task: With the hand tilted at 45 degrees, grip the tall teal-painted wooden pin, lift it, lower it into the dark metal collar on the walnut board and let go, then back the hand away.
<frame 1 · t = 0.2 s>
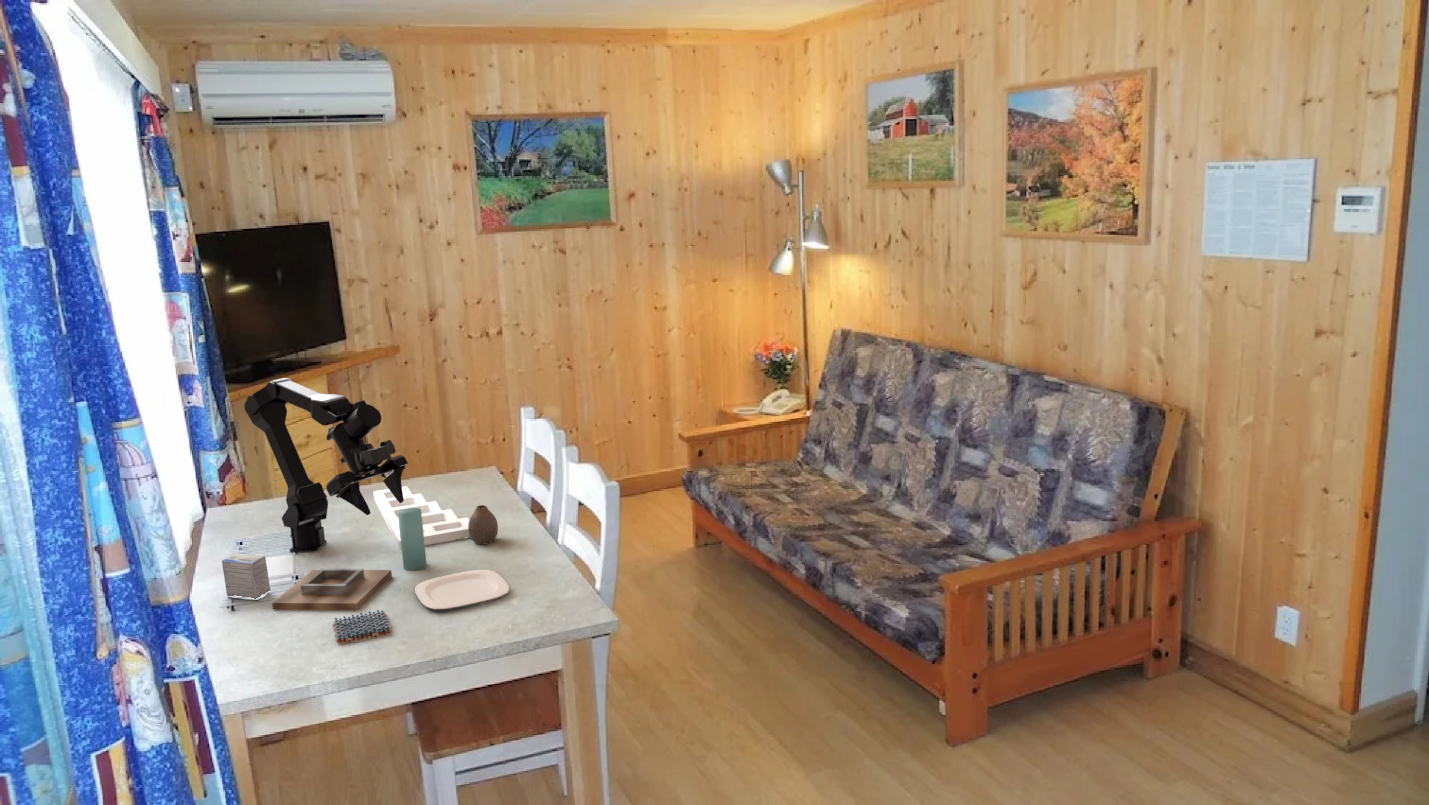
hand: (385, 508, 233), 14 cm above the table, tool tilted 35°, fingers open, 9 cm apart
plate: (462, 596, 221), on the table
medicine box: (249, 597, 224), on the table
vase: (484, 542, 252), on the table
pin: (415, 566, 237), on the table
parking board: (334, 592, 224), on the table
holder: (422, 519, 272), on the table
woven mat: (362, 633, 205), on the table
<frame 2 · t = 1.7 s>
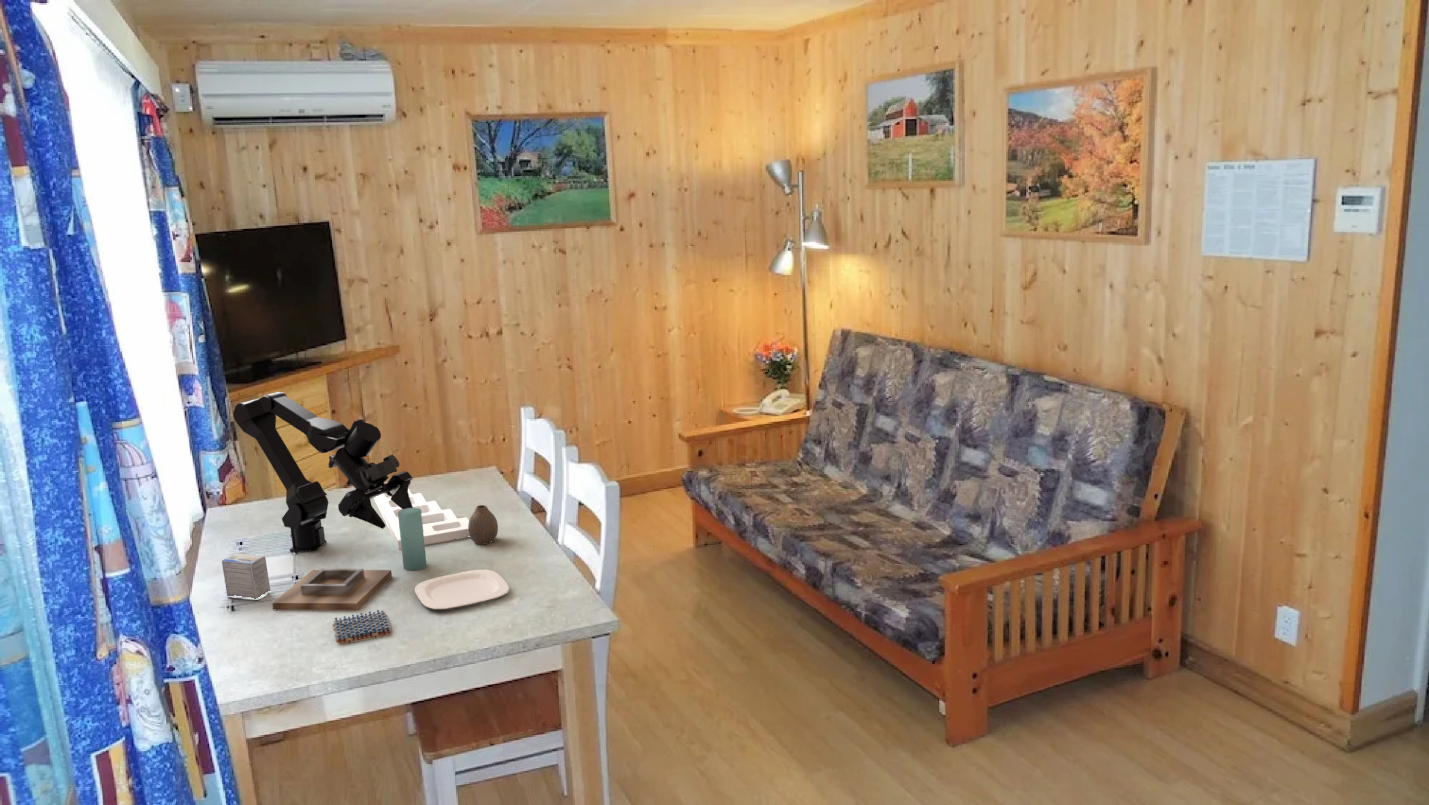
hand: (399, 520, 237), 10 cm above the table, tool tilted 45°, fingers open, 9 cm apart
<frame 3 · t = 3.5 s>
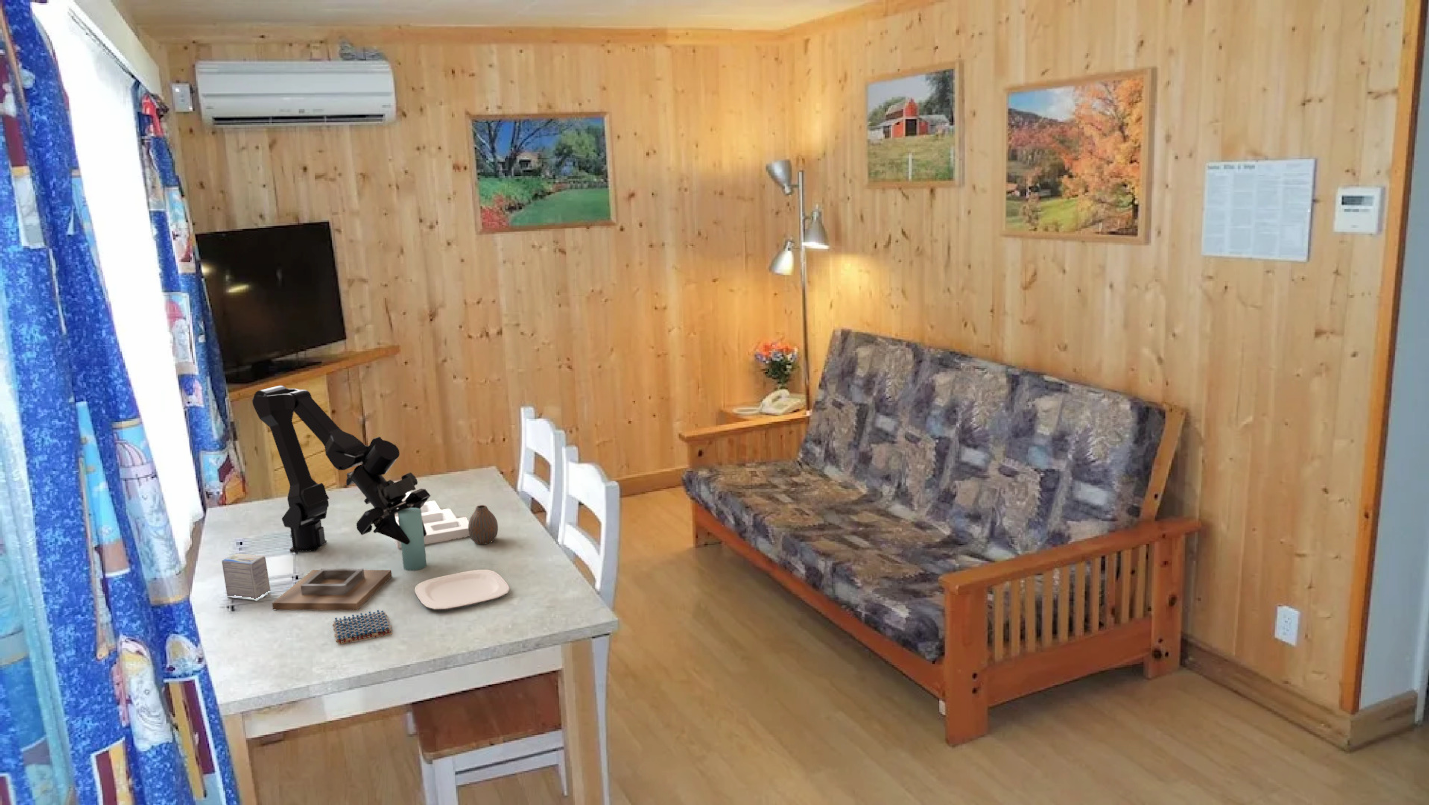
hand: (417, 539, 235), 7 cm above the table, tool tilted 45°, fingers closed on pin, 5 cm apart
pin: (415, 566, 237), on the table, touching gripper
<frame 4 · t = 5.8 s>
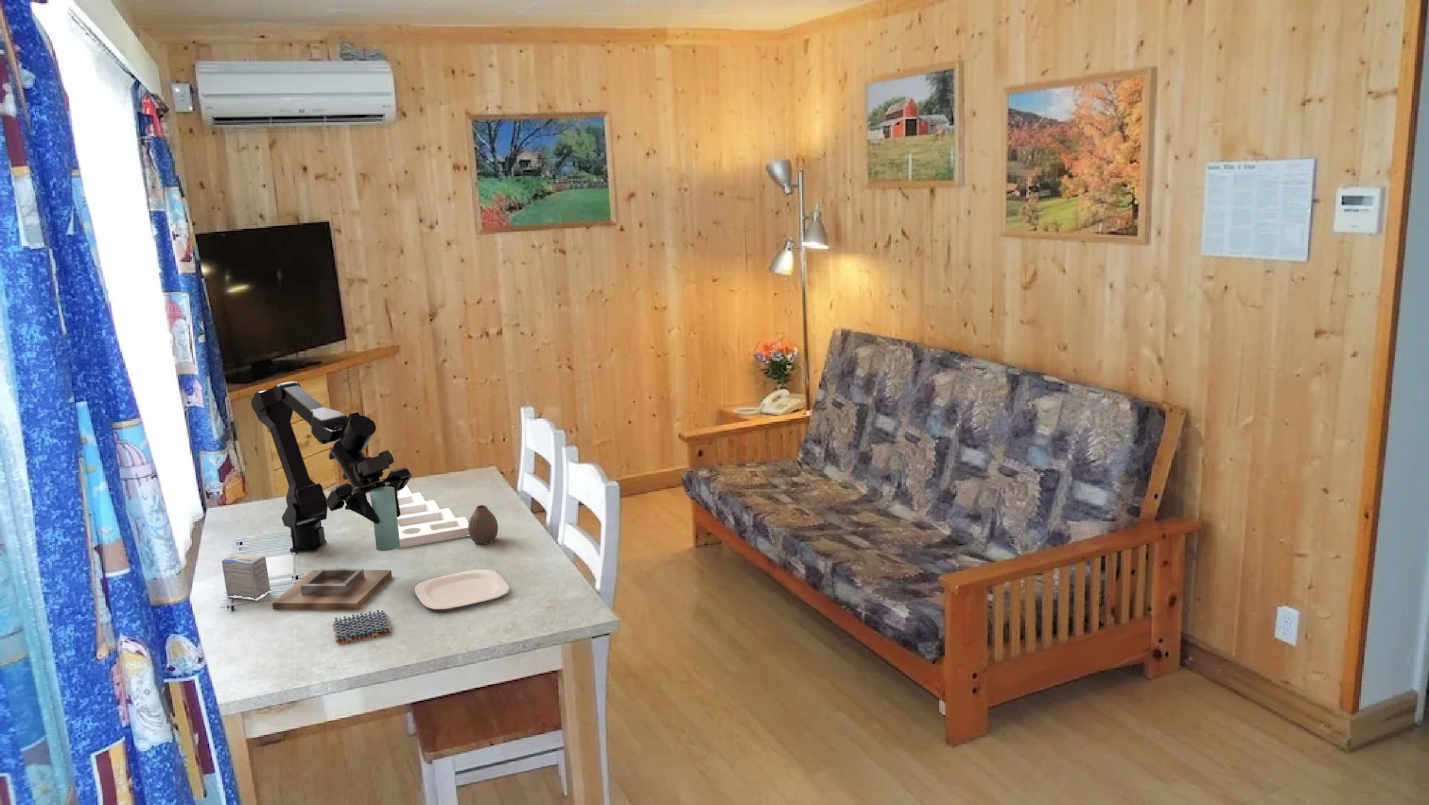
hand: (388, 519, 228), 13 cm above the table, tool tilted 45°, fingers closed on pin, 5 cm apart
pin: (388, 546, 230), point 7 cm above the table, touching gripper
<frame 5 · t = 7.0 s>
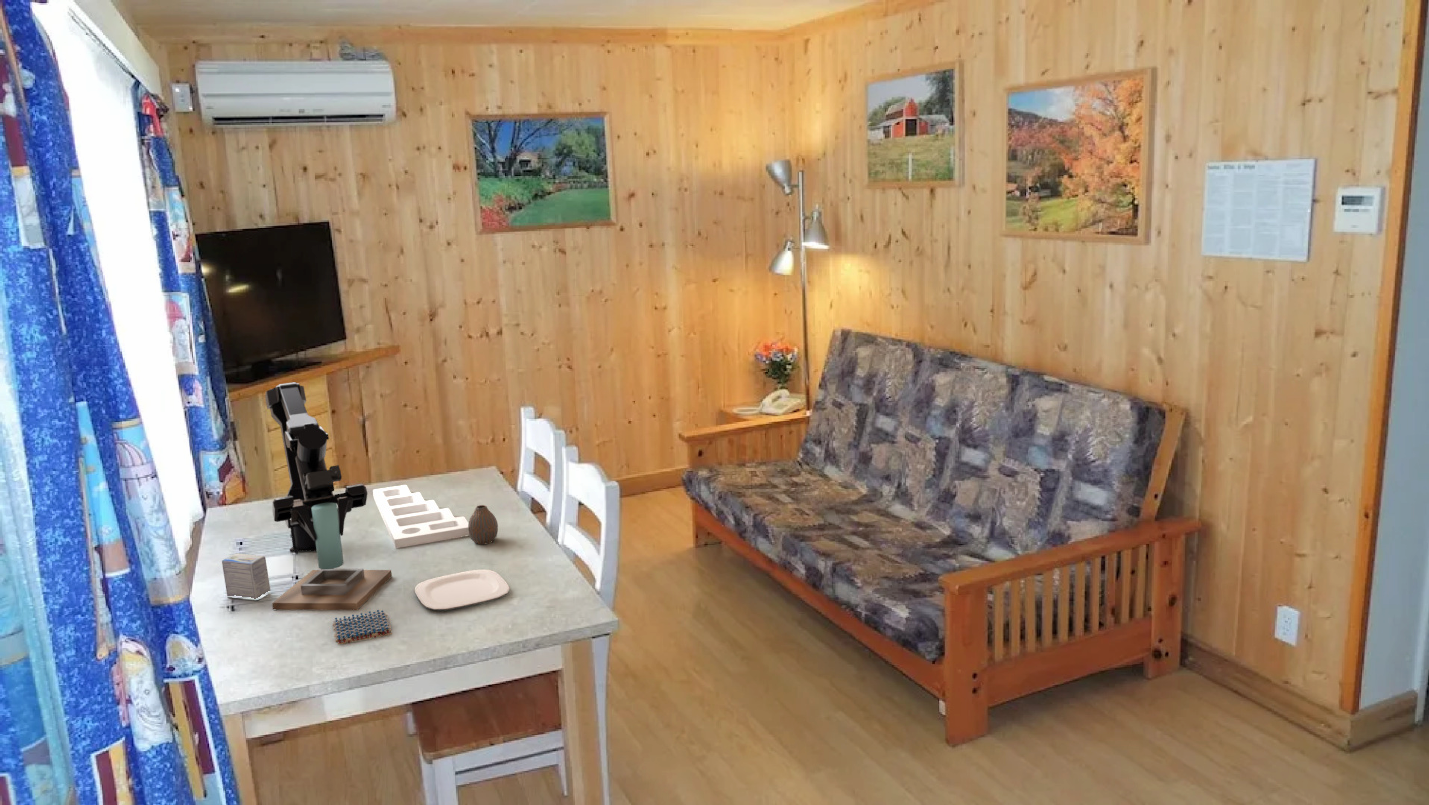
hand: (328, 537, 220), 13 cm above the table, tool tilted 45°, fingers closed on pin, 5 cm apart
pin: (331, 564, 223), point 6 cm above the table, touching gripper
when the fingers open (9 cm above the table, at t = 8.1 s): pin stays where it is, resting on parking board.
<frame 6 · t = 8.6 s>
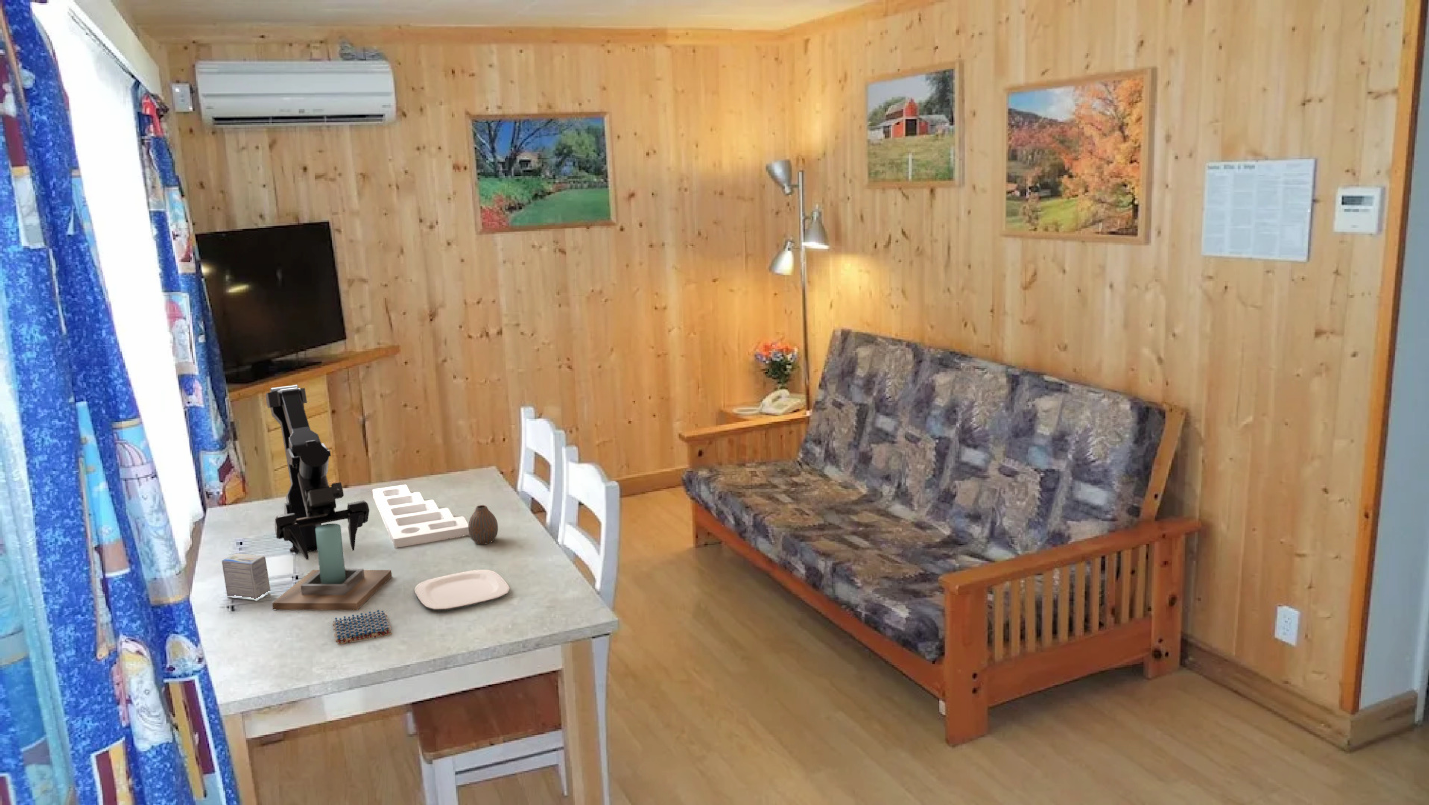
hand: (330, 554, 221), 9 cm above the table, tool tilted 45°, fingers open, 9 cm apart
pin: (333, 585, 224), point 2 cm above the table, touching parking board
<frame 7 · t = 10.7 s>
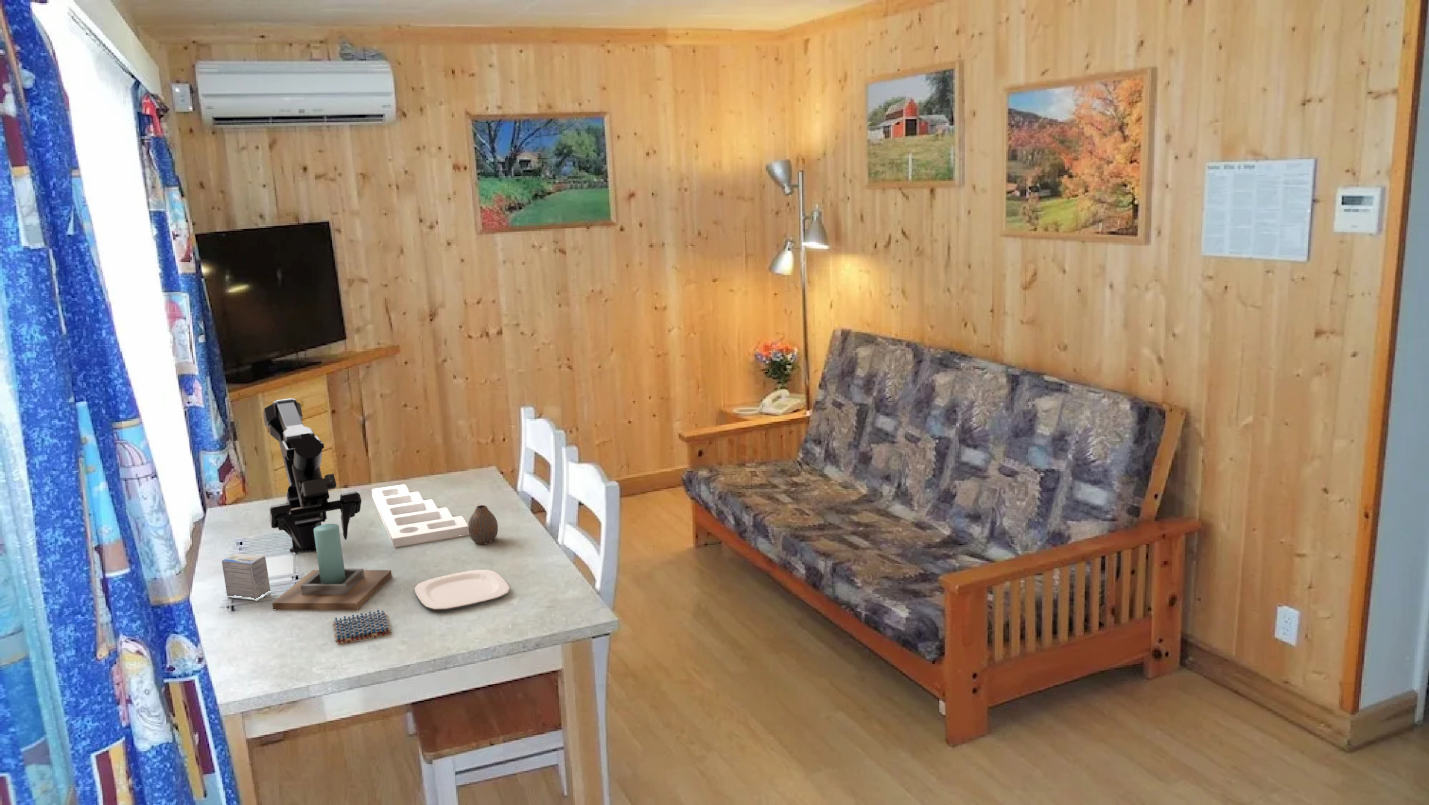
hand: (323, 543, 228), 9 cm above the table, tool tilted 45°, fingers open, 9 cm apart
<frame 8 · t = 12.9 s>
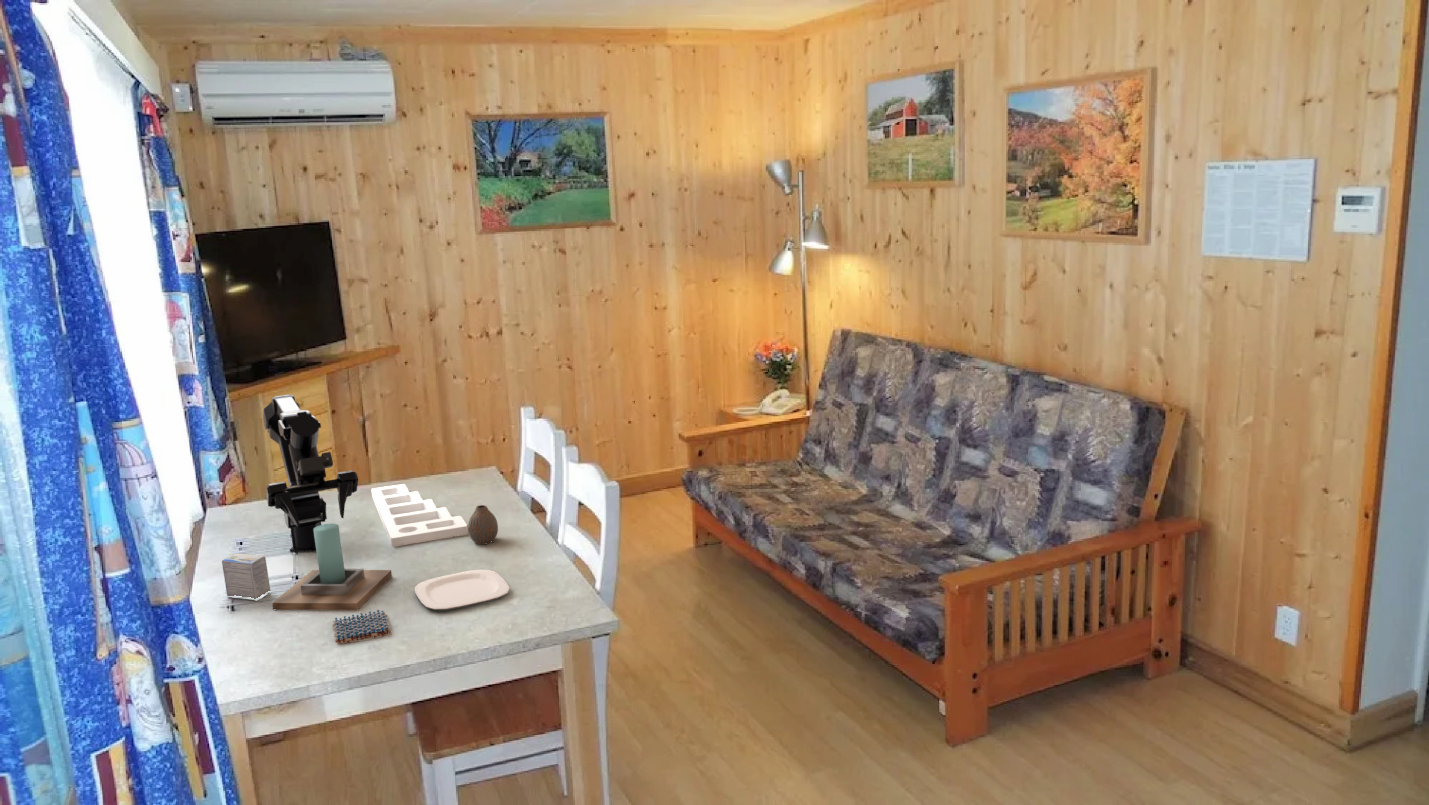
hand: (320, 521, 228), 14 cm above the table, tool tilted 45°, fingers open, 9 cm apart
at the end: pin 0.1 cm off-centre on the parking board, point 1.5 cm above the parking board's base; pin tilted 1°; the gripper is holding nothing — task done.
